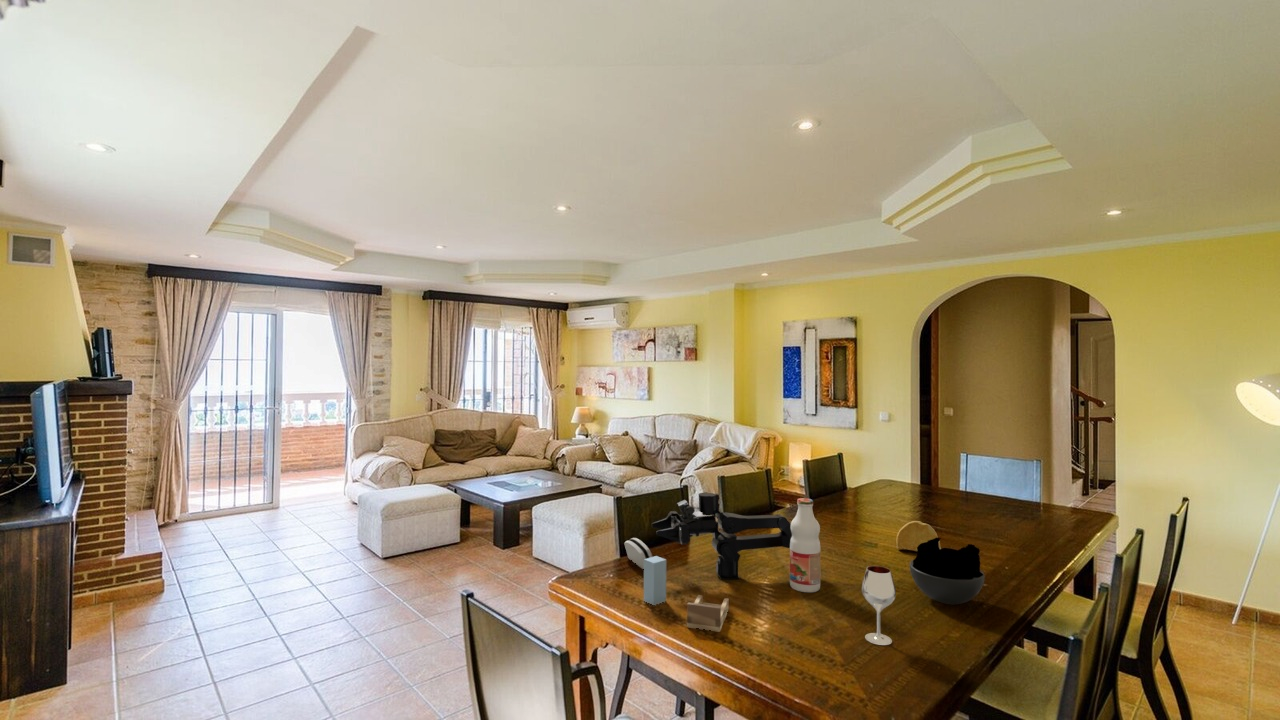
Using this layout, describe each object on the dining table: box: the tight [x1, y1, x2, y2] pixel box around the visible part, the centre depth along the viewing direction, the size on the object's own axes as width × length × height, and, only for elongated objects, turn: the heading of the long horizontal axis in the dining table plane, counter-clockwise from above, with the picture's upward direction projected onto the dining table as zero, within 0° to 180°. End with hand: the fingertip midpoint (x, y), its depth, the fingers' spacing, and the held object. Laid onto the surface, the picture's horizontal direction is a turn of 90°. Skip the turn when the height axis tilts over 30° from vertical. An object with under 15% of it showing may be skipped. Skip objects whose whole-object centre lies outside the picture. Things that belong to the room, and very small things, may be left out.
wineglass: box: [861, 565, 897, 646], centre depth 149 cm, size 8×8×18 cm
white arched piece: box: [623, 537, 653, 570], centre depth 204 cm, size 17×5×10 cm, turn 25°
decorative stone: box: [895, 520, 942, 553], centre depth 222 cm, size 13×15×15 cm
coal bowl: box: [909, 537, 986, 605], centre depth 173 cm, size 20×20×19 cm
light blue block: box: [643, 555, 667, 606], centre depth 172 cm, size 5×4×12 cm
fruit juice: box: [789, 497, 821, 593], centre depth 184 cm, size 9×9×28 cm
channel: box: [686, 594, 730, 633], centre depth 161 cm, size 15×9×6 cm, turn 162°
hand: (653, 528), depth 190 cm, fingers open, 9 cm apart
